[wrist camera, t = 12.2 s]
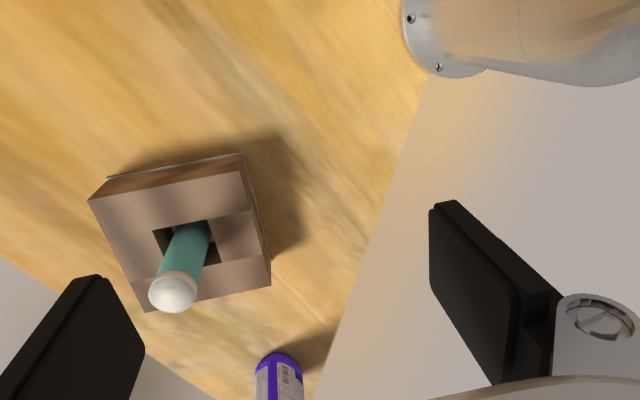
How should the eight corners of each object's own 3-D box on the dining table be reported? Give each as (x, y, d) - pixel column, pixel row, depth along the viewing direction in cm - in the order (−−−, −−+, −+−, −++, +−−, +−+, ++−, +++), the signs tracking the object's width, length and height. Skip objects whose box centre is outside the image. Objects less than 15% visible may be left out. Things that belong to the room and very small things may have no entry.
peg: (208, 206, 39) (187, 273, 29) (217, 234, 41) (201, 307, 30) (174, 213, 39) (141, 283, 29) (185, 241, 41) (157, 317, 30)
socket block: (243, 151, 38) (240, 168, 33) (272, 260, 44) (273, 286, 40) (105, 177, 37) (83, 199, 32) (156, 284, 43) (143, 314, 39)
